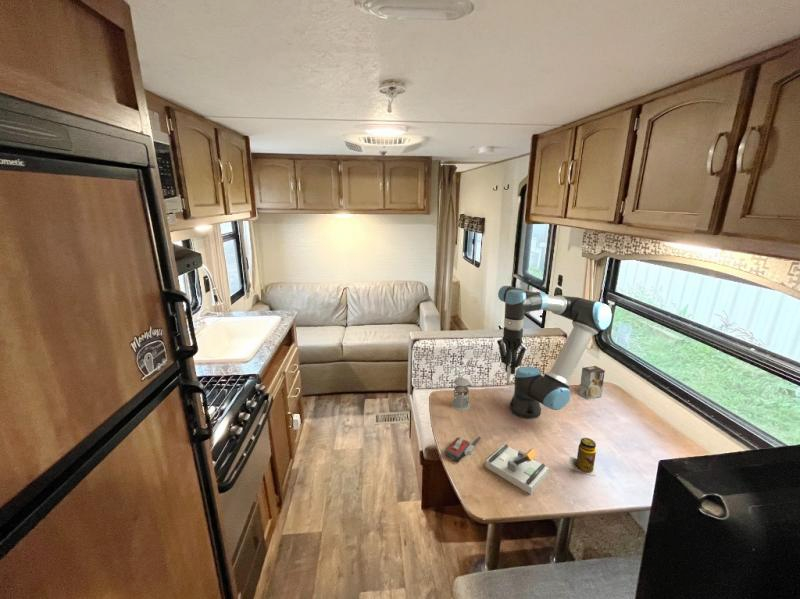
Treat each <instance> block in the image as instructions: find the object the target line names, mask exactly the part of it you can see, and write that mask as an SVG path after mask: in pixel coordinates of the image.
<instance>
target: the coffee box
mask: <svg viewBox="0 0 800 599" xmlns="http://www.w3.org/2000/svg"><path fill="white" fill-rule="evenodd" d="M605 371H606V370H605V369H604V368H603V369H602V368H601V367H599V366H596V365H593V366H586V367H582V368H581V377H580V385H579V395H580V396H582V397H583V398H584V399H586V398H587V399H586V400H591V398H593V399H597V397H599V398H602V394H603V393H602V392H603V388H604V387H603V386H604V379H605V373H606V372H605Z"/></svg>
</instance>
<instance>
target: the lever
mask: <svg viewBox="0 0 800 599" xmlns="http://www.w3.org/2000/svg"><path fill="white" fill-rule="evenodd" d="M524 453H525V454H523V455H519V456H517V457H516V458H515V459H514V460H513V461H512V462H514V463H516V464H517V465H518V464H521V463H523V462H525V461H527V462H529V461H531V460H532V459H533V460H534V459H535V458H536V457H537V455H538V453H537V451H536V450H535V449H534V448H530V449H529V450H528V451H526V452H524ZM517 465H516V466H517Z"/></svg>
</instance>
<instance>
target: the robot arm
mask: <svg viewBox="0 0 800 599" xmlns="http://www.w3.org/2000/svg"><path fill="white" fill-rule="evenodd" d="M497 296H498V299H499V300H500V301H501V302H503V303H505V304H504V306H505V307H504V322H503V323H504V324H503V333H502V335H503V336H502V338H501V339H500V338H499V339H498V340H496V343H497V345H498V347H499V348H498V349H499V354H500V361H501V364H504V365H505V366H504V367H505V368H504V370H505V373H506V378H505V380H506V381H507V382H511V381H512V380H513V378H514V392H513V396H512V398H511V400H510V402H509V411H510V412H511V413H512V414H514V415H515V416H517V417H520V418H523V419H536V418H538V417H540V416H541V415H542V408H541V404H542V405H543V406H545V407H546V408H548V409H550V410H553V411H558V410H561V409H563V408H565V407H566V406H567V405H568V404H569V402H570V400H571V395H572V394H571V391H570V387H571V385H570V382H569V381H570V380H571V377H572V375H573V373H574V372H575V369H576V368H577V367H578V364H579V362H580V360H581V358H582V356H583V354H584V352H585V351H586V349H587V347H588V345H589V343H590V341H591V339H592V337H593V336H596V335H598V334H599V332H600V331H604V330H607V328H609V326H610V324H611V321H612V310H611V308H610V306H609V305H607V304H606V303H602V302H601V301H600V302H599V301H595V300H590V299H588V298H587V299H586V298H582V297H577V296H567V295H561V294H556V295H550V294H546V293H545V291H531V290H528V289H524V288H518V287H514V286H512V285H502V286H501V287H500V288H499V289H498V292H497ZM541 310H543V311H548V312H551V313H552V314H553V315H557V316H561V317H563V318H565V319H567V320H570V321H571V323H572V326H573V328H572V329H571V331H570V333H569V336H568V337H567V338H566V341H565V343H564V345H563V346H562V348H561V350H560V352H559V354H558V356H557V358H556V359H555V361H554V364H553V366H552V367H551V369H550V371H549V372H545V373H544V375H542V370H541V369H540V368H538V367H535V366H529V365H528V366H521V364H522V361H523V358H524V356H525V352H526V351H527V350H528V349H529V347H528V346H525V345H524V342H523V337H524V336H523V334H524V333H523V332H524V329H523V328H524V321H525V320H524V319H525V313H530V312H535V311H541ZM519 348H520V350H519ZM516 368H517V369H516Z"/></svg>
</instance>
